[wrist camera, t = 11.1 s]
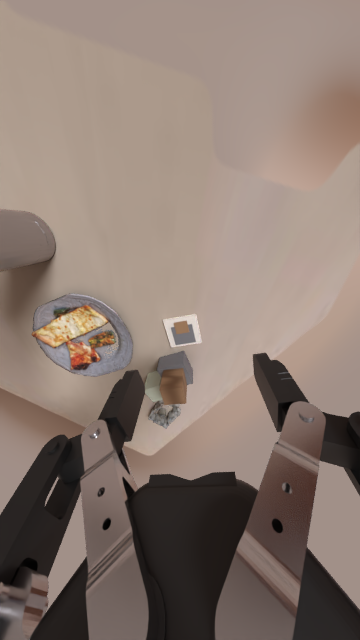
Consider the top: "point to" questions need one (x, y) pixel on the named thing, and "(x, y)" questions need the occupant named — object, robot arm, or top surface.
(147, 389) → the sage block
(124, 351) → the food plate
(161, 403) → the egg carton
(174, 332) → the tile
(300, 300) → the top surface
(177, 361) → the charcoal block
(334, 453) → the robot arm
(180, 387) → the walnut block
